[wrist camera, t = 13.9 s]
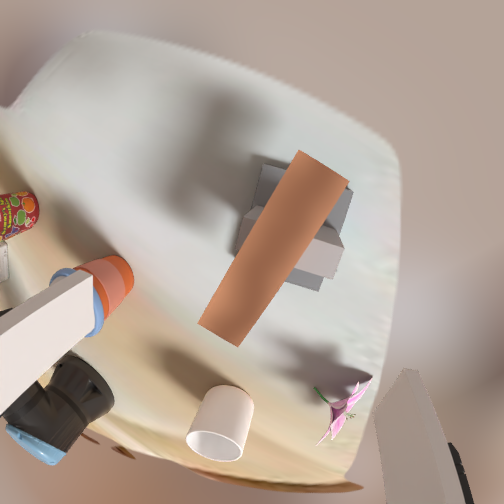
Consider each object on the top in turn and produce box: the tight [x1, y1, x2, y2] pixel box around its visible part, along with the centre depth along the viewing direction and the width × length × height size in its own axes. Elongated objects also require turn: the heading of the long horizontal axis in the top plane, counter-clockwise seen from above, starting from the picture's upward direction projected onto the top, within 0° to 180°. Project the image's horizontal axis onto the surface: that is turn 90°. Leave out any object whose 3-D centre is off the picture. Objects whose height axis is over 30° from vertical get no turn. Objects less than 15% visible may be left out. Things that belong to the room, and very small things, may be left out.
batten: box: [198, 150, 349, 347], centre depth 23 cm, size 4×16×4 cm, turn 151°
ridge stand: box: [235, 164, 353, 291], centre depth 29 cm, size 10×12×8 cm
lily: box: [314, 377, 373, 446], centre depth 35 cm, size 12×12×10 cm
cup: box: [186, 385, 254, 462], centre depth 39 cm, size 8×12×10 cm
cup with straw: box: [49, 255, 134, 337], centre depth 31 cm, size 9×9×18 cm
